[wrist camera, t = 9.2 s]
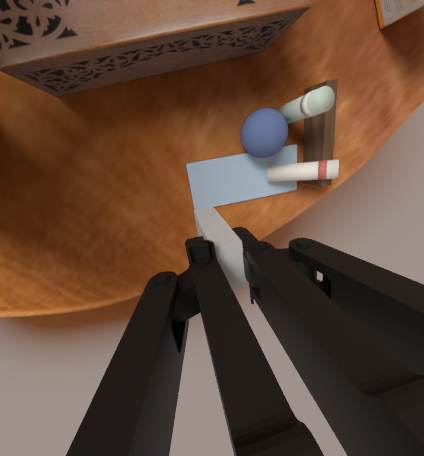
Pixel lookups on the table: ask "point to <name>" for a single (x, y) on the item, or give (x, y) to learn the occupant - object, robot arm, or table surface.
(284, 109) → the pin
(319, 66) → the table surface
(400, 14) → the supplement box
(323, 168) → the pin
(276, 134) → the ball
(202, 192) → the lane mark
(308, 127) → the rail
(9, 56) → the tissue box cover
